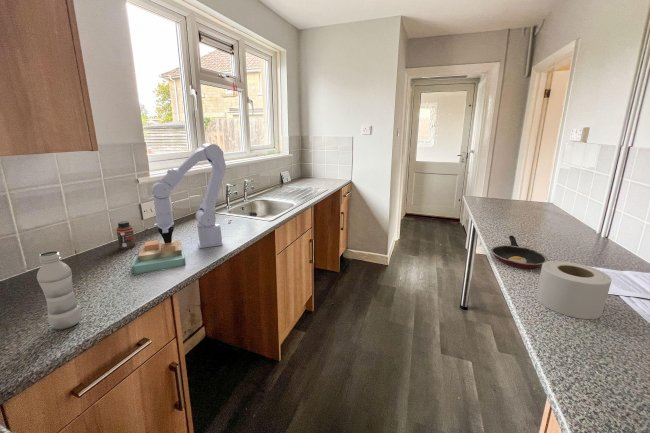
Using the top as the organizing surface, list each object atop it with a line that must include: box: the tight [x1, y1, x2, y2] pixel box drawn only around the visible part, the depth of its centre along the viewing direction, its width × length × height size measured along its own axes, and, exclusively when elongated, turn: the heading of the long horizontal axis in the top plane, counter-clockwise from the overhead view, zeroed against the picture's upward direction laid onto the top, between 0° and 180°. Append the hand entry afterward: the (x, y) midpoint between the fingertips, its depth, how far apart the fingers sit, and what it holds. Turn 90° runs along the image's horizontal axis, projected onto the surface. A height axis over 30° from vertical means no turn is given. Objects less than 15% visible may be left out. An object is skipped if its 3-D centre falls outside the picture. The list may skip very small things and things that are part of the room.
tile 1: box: [144, 239, 161, 251], centre depth 124 cm, size 5×5×2 cm
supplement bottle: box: [116, 220, 136, 250], centre depth 130 cm, size 6×6×11 cm
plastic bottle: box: [36, 250, 82, 330], centre depth 76 cm, size 6×7×20 cm
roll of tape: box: [535, 260, 612, 320], centre depth 87 cm, size 16×15×11 cm
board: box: [137, 239, 182, 262], centre depth 125 cm, size 15×13×2 cm
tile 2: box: [161, 242, 176, 253], centre depth 122 cm, size 5×5×2 cm
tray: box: [131, 248, 186, 275], centre depth 114 cm, size 17×10×3 cm, turn 116°
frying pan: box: [490, 234, 549, 270], centre depth 124 cm, size 19×32×4 cm, turn 155°
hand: (168, 244), depth 125 cm, fingers closed
